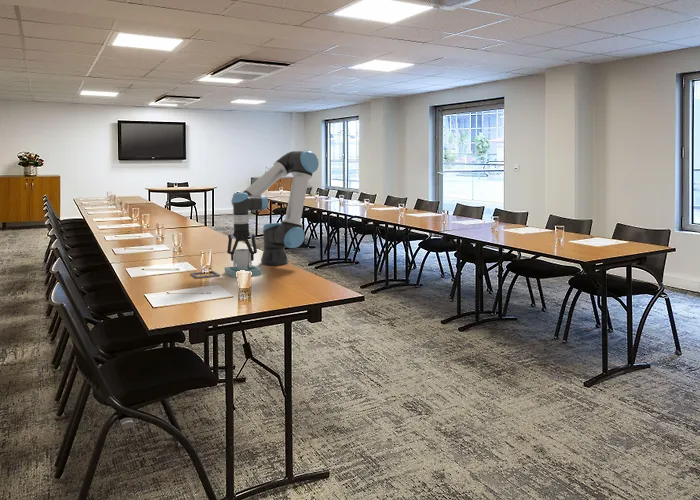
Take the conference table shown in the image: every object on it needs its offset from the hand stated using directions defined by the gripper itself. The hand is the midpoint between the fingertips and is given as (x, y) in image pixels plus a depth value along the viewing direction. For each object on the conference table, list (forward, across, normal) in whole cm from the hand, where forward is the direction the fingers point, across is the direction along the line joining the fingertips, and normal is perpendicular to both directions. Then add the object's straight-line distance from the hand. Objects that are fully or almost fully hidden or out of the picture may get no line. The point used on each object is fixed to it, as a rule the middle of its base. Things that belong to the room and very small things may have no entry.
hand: (242, 266), depth 302 cm
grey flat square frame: (+4, -19, -4) cm, 19 cm away
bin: (+4, 0, 0) cm, 4 cm away
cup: (+1, 0, 0) cm, 1 cm away
